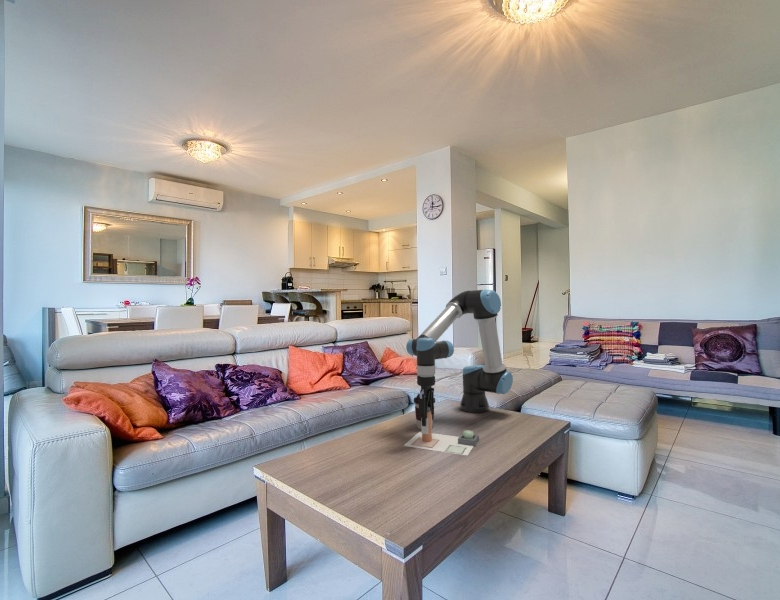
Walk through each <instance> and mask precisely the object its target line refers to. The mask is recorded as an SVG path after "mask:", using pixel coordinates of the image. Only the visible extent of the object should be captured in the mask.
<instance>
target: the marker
mask: <svg viewBox="0 0 780 600" xmlns="http://www.w3.org/2000/svg"><path fill="white" fill-rule="evenodd" d="M427 418H428V434H422V441H423V442H431V441H432V433H433V432H432V431H433V428H432V422H431V411H430V407H428V410H427Z"/></svg>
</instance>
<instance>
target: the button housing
mask: <svg viewBox="0 0 780 600" xmlns="http://www.w3.org/2000/svg"><path fill="white" fill-rule="evenodd" d="M458 437H459V438H458V444H465V445H472V446H474V447H475V446H476V445H477V444H478V442H479V441H480V434H474V433H473V437H474V439H473V440H472V439H464V435H463V432H462V433H461V434H460V435H459V436H458Z"/></svg>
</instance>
